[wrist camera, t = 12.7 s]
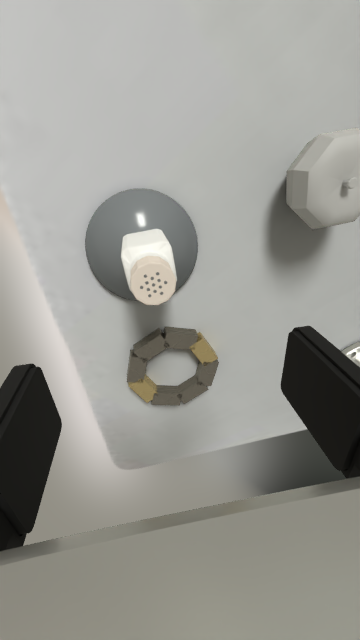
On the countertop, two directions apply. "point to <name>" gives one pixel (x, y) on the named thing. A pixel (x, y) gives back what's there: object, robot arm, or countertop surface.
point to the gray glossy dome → (130, 217)
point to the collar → (175, 340)
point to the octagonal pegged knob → (326, 180)
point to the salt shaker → (149, 266)
